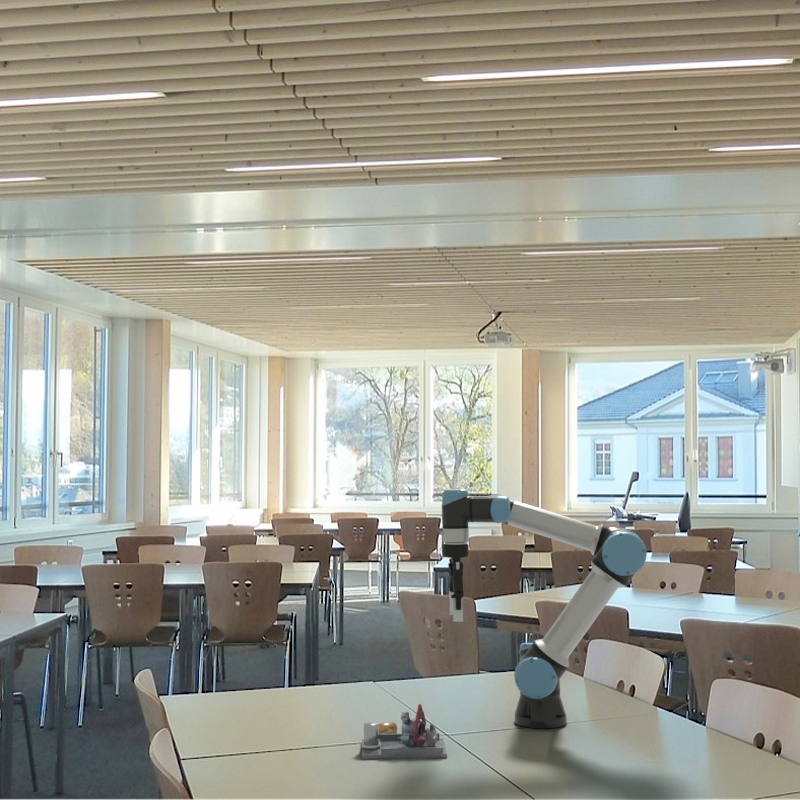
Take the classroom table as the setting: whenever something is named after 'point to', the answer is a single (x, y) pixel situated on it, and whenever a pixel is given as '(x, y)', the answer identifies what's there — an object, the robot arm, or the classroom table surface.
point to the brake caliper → (417, 730)
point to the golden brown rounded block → (387, 728)
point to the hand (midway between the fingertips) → (456, 618)
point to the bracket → (395, 746)
